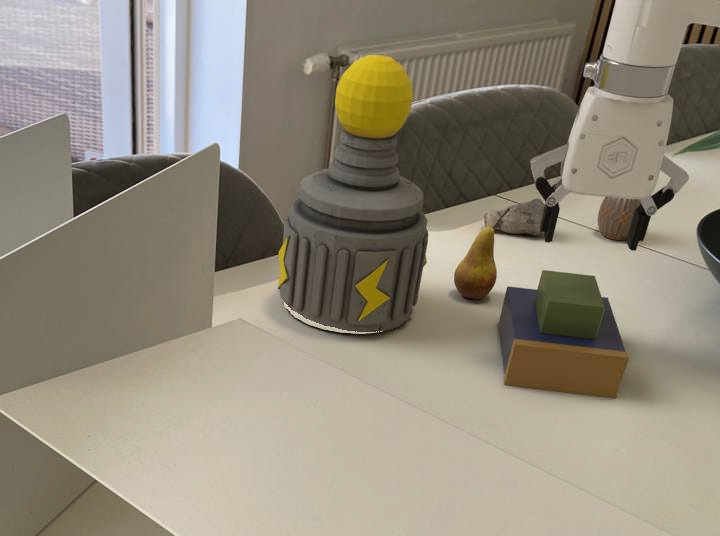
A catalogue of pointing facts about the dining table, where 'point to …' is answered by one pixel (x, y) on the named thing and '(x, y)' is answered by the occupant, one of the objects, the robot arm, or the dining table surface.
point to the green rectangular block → (569, 304)
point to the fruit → (478, 266)
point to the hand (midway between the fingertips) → (588, 242)
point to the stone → (518, 218)
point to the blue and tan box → (558, 351)
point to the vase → (616, 217)
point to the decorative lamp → (358, 214)
